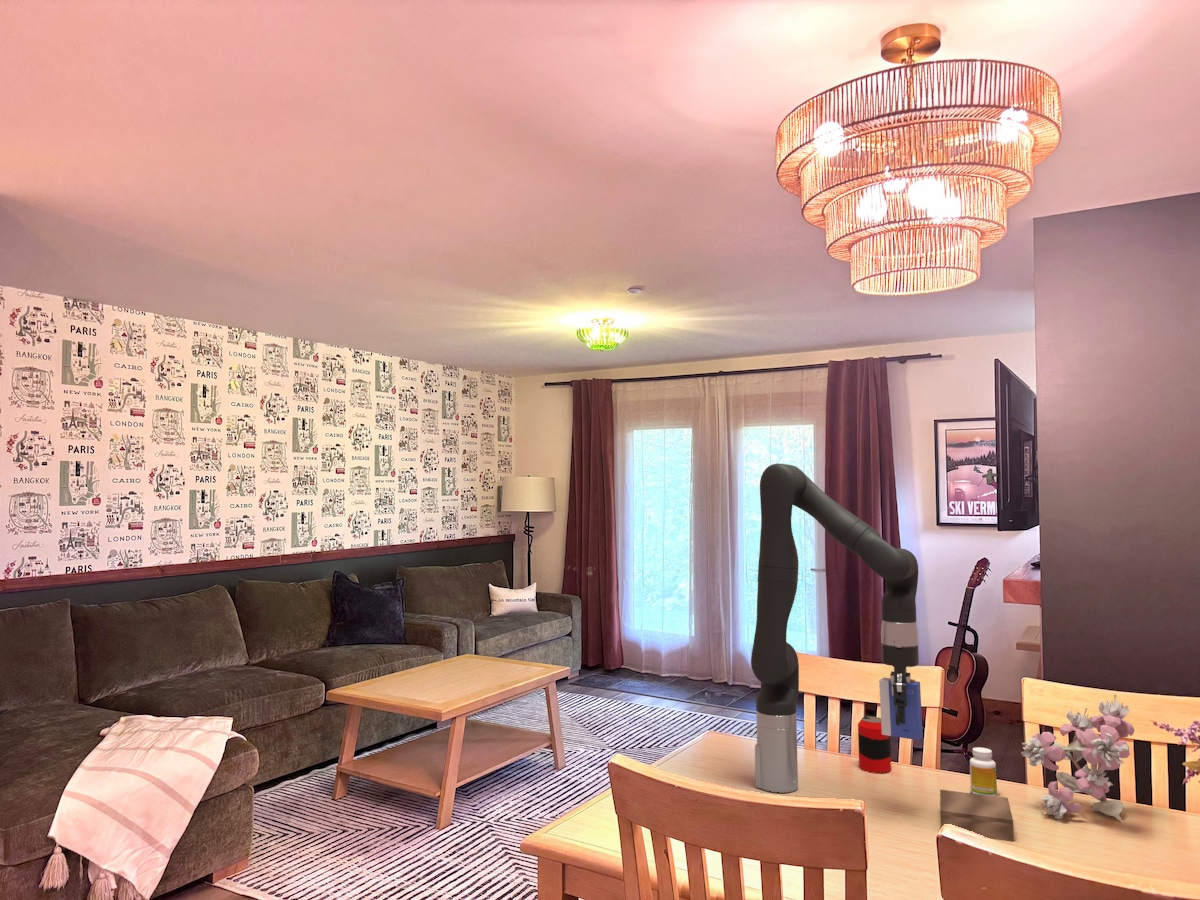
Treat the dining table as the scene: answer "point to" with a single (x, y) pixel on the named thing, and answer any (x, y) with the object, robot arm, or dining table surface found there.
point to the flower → (1093, 752)
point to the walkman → (912, 712)
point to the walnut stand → (977, 813)
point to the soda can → (873, 746)
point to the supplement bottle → (983, 772)
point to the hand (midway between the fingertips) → (901, 723)
